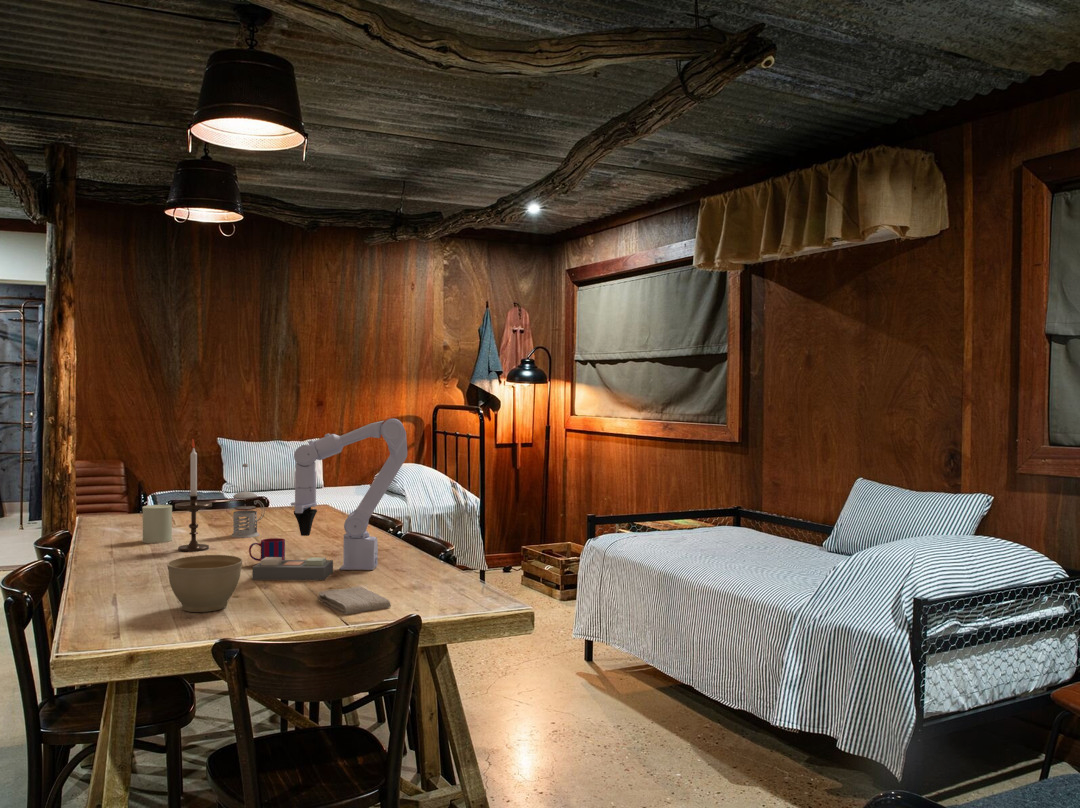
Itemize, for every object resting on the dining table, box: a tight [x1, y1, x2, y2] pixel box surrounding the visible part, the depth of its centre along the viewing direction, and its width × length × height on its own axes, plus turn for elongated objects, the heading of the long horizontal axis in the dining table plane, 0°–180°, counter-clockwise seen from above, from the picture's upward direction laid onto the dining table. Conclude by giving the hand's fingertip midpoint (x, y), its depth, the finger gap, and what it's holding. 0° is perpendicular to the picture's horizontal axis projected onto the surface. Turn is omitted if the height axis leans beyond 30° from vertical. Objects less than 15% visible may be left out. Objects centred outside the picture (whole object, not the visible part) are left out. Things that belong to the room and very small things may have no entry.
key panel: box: [251, 559, 334, 581], centre depth 236 cm, size 19×10×3 cm, turn 90°
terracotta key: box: [283, 561, 304, 566], centre depth 236 cm, size 4×4×2 cm
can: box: [141, 503, 173, 544], centre depth 289 cm, size 9×9×12 cm
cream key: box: [260, 557, 282, 565], centre depth 236 cm, size 4×4×2 cm
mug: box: [248, 537, 286, 562], centre depth 253 cm, size 7×10×7 cm
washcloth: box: [317, 586, 392, 615], centre depth 206 cm, size 12×18×3 cm, turn 37°
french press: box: [230, 463, 266, 539], centre depth 301 cm, size 10×12×25 cm
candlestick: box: [174, 438, 213, 553], centre depth 274 cm, size 11×11×35 cm
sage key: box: [305, 556, 327, 566], centre depth 236 cm, size 4×4×2 cm
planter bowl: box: [166, 554, 243, 613], centre depth 201 cm, size 16×16×11 cm
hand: (305, 535), depth 246 cm, fingers closed
